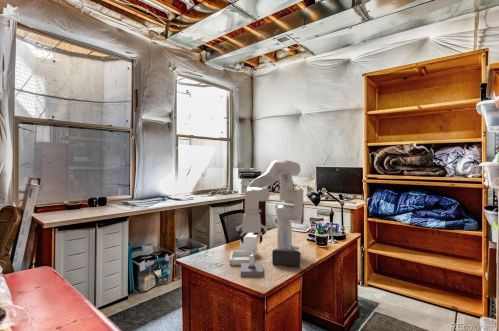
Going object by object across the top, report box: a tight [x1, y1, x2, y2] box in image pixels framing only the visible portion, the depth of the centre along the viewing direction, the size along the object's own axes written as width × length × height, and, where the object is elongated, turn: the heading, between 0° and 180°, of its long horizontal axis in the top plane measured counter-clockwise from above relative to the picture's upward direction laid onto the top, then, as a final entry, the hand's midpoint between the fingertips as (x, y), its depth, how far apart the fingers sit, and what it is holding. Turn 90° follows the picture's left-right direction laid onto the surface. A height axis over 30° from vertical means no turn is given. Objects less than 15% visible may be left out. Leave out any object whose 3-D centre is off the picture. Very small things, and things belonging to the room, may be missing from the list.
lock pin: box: [249, 255, 256, 269], centre depth 154 cm, size 3×3×9 cm
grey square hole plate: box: [240, 262, 264, 277], centre depth 154 cm, size 12×12×3 cm
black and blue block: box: [271, 248, 301, 268], centre depth 164 cm, size 16×5×9 cm, turn 78°
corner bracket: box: [239, 233, 258, 256], centre depth 187 cm, size 11×11×12 cm
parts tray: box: [229, 250, 253, 266], centre depth 171 cm, size 14×16×4 cm
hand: (251, 242), depth 153 cm, fingers open, 9 cm apart
